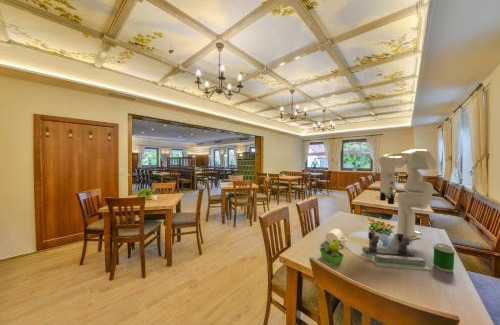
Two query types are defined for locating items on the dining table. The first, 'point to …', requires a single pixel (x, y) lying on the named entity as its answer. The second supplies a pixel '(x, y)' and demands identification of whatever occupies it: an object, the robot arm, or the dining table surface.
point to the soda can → (443, 257)
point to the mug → (335, 236)
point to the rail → (400, 260)
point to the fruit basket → (332, 253)
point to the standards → (393, 252)
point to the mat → (400, 265)
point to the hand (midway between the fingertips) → (386, 202)
